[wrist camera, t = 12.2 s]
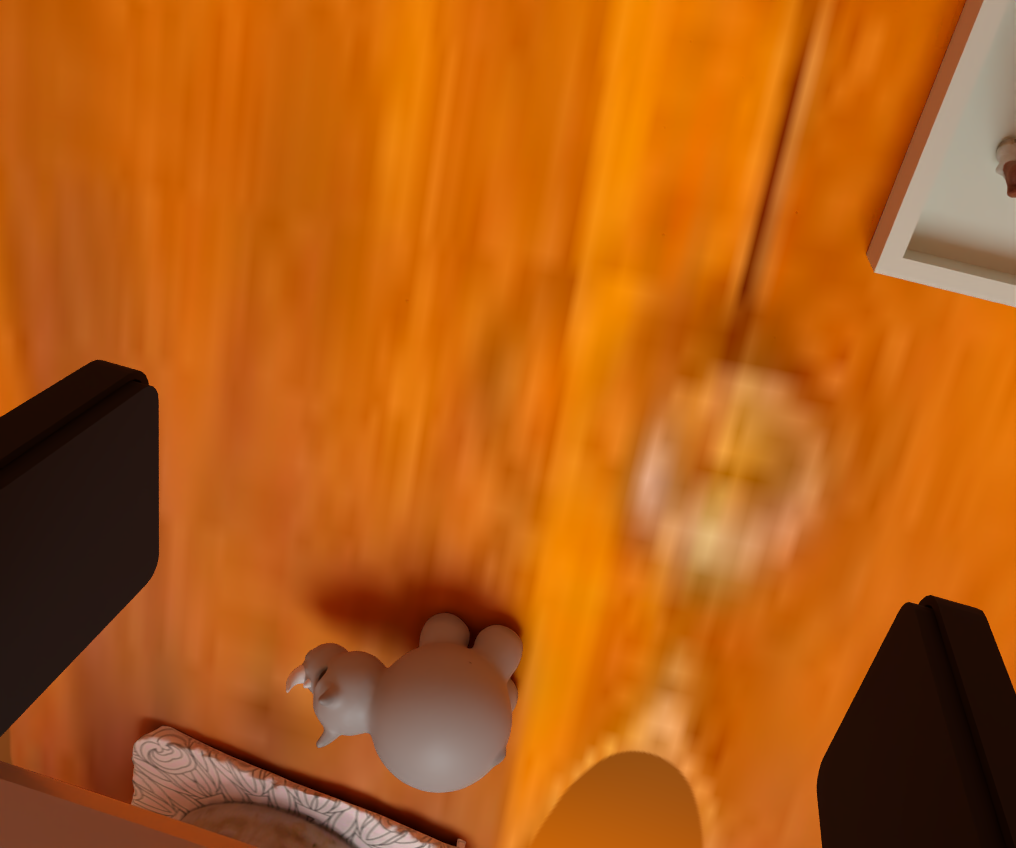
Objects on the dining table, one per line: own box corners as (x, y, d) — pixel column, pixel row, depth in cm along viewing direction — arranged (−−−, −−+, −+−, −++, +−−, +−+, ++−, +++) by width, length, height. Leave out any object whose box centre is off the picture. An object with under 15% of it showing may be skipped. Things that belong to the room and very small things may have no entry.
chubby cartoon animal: (327, 565, 52) (255, 670, 44) (539, 618, 50) (503, 737, 42) (323, 663, 55) (256, 776, 47) (521, 716, 53) (485, 842, 46)
